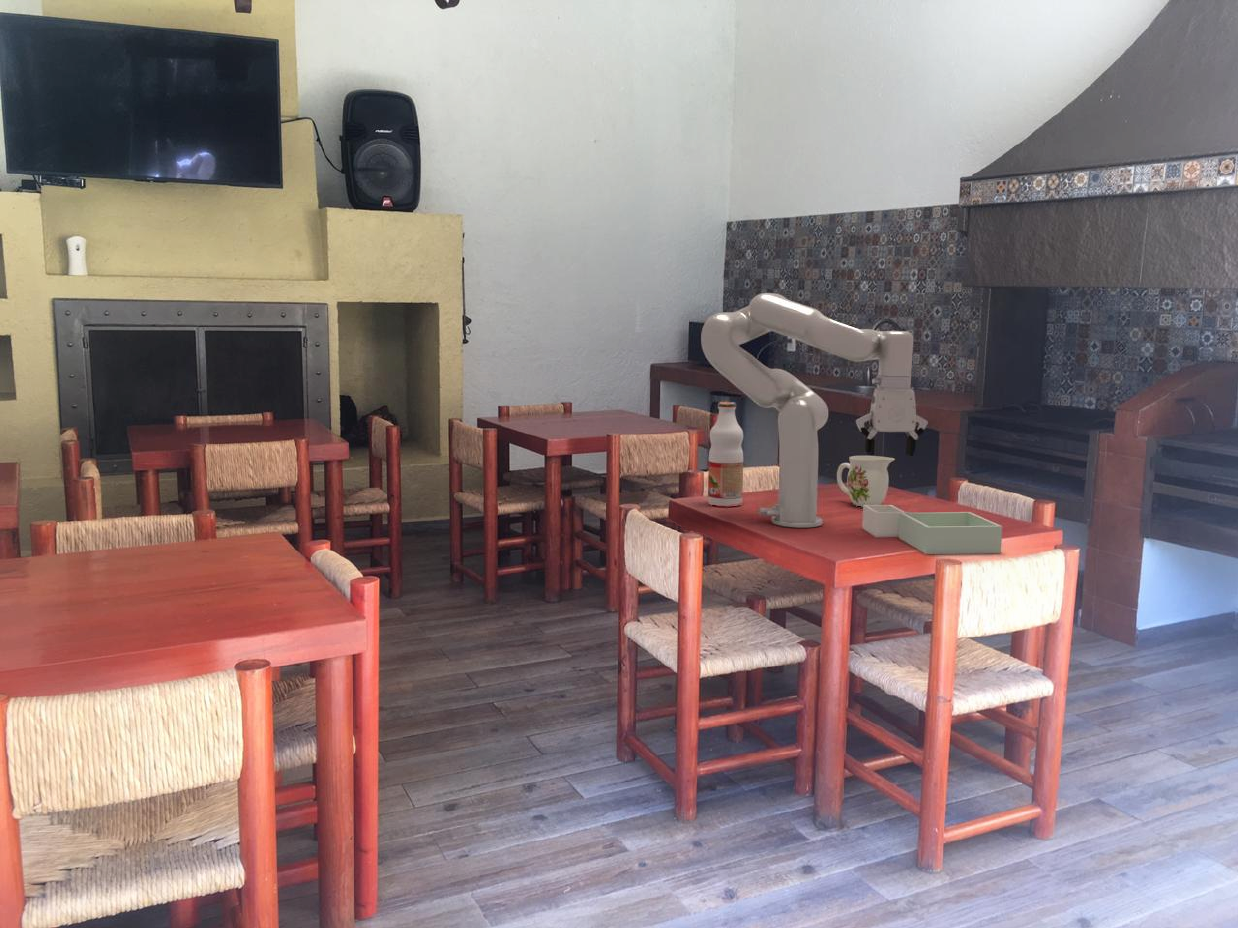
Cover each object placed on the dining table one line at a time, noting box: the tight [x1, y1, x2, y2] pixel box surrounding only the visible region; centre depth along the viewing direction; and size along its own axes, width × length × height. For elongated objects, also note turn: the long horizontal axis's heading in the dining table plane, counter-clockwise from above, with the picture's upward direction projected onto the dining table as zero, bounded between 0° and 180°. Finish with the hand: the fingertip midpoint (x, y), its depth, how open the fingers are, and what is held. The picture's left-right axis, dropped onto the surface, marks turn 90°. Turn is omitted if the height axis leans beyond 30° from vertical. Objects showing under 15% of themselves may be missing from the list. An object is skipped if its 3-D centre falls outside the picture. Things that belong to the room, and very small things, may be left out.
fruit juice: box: [707, 401, 744, 505], centre depth 289 cm, size 9×9×28 cm
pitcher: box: [836, 455, 895, 508], centre depth 291 cm, size 11×18×14 cm, turn 43°
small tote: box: [862, 504, 907, 538], centre depth 255 cm, size 7×10×6 cm
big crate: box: [898, 511, 1003, 555], centre depth 241 cm, size 17×17×6 cm
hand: (889, 455), depth 254 cm, fingers open, 9 cm apart
